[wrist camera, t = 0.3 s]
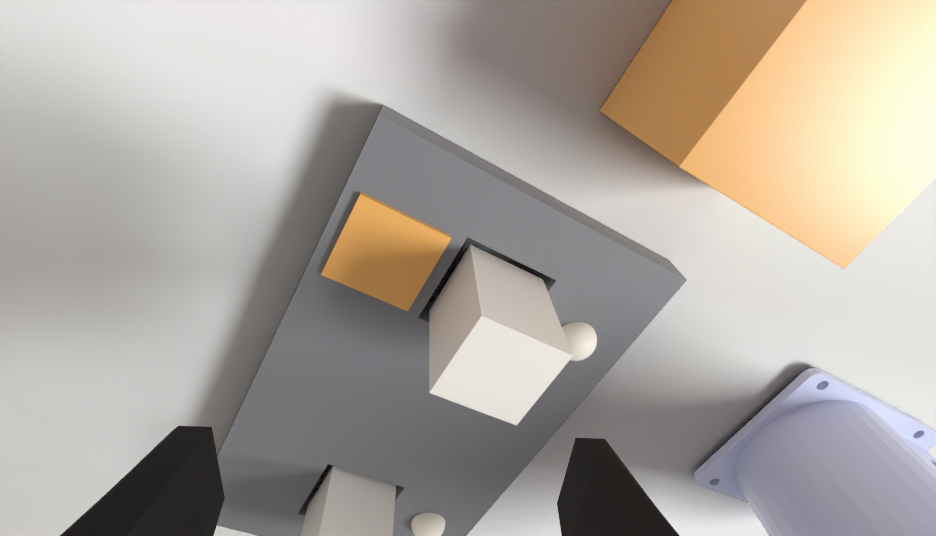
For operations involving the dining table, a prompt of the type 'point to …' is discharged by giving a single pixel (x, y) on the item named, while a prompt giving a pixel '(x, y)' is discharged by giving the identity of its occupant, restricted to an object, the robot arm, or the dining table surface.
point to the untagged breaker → (350, 506)
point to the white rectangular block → (494, 338)
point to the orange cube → (793, 109)
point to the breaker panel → (422, 340)
